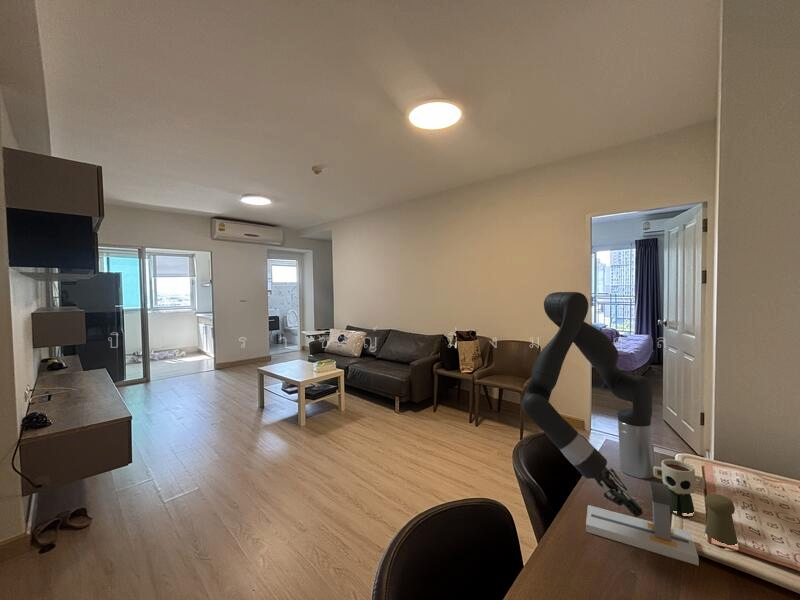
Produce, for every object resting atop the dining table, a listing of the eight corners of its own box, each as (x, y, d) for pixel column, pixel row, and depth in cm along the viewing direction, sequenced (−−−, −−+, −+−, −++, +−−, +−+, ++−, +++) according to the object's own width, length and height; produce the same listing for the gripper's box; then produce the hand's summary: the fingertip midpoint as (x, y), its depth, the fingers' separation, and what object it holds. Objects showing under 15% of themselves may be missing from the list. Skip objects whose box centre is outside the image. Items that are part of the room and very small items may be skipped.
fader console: (586, 531, 85) (585, 523, 85) (588, 511, 93) (587, 504, 93) (698, 565, 73) (698, 556, 73) (690, 539, 81) (690, 531, 81)
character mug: (654, 510, 92) (652, 464, 92) (655, 498, 97) (653, 454, 97) (707, 526, 85) (704, 477, 85) (705, 512, 90) (703, 465, 90)
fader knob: (654, 538, 79) (652, 493, 79) (651, 523, 84) (649, 481, 84) (673, 544, 77) (671, 497, 77) (669, 528, 82) (667, 484, 82)
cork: (746, 552, 76) (744, 505, 76) (716, 549, 77) (714, 503, 77) (726, 534, 82) (724, 490, 82) (698, 531, 83) (696, 488, 83)
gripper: (592, 457, 82) (655, 522, 75) (593, 437, 93) (649, 492, 86) (569, 473, 85) (628, 537, 78) (573, 452, 96) (626, 506, 89)
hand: (639, 513), depth 82 cm, fingers closed
